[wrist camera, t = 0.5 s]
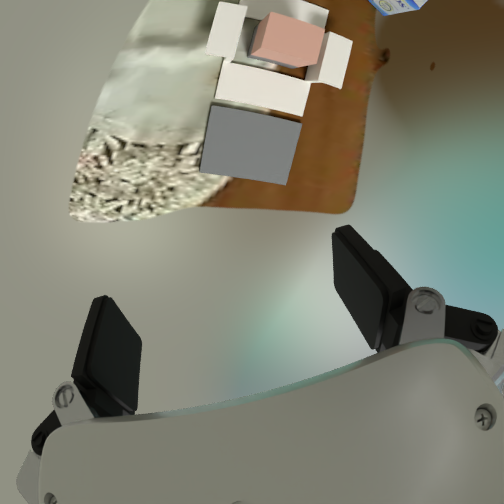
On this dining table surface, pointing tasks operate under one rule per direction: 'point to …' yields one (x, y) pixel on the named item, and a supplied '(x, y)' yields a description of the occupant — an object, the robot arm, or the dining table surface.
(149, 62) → the dining table surface
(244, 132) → the mat
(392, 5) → the medicine box
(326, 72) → the carton
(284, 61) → the box
